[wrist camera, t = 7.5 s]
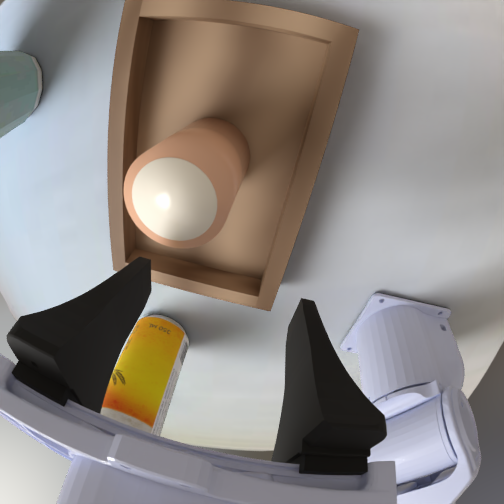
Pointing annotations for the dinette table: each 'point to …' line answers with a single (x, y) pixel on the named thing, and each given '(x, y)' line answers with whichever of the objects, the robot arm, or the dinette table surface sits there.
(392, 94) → the dinette table surface
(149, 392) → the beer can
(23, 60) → the disposable coffee cup
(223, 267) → the tray
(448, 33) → the dinette table surface
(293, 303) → the dinette table surface
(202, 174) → the tan and white cylinder
